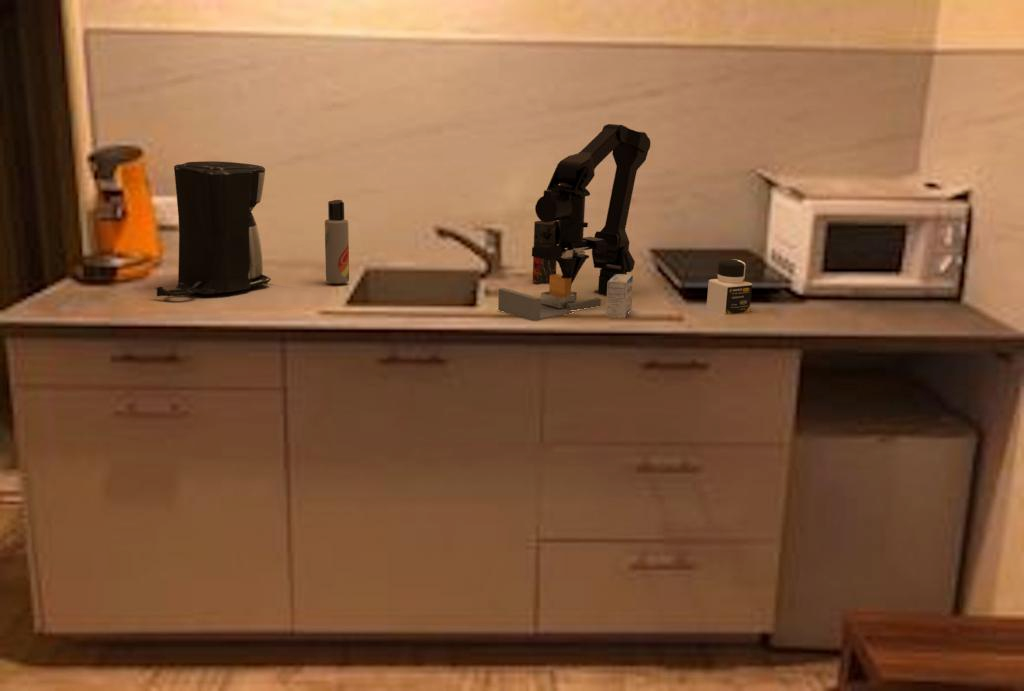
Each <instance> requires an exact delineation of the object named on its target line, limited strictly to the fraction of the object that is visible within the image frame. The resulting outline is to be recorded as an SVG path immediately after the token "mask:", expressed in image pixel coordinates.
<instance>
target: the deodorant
mask: <svg viewBox="0 0 1024 691" xmlns="http://www.w3.org/2000/svg"><path fill="white" fill-rule="evenodd" d="M554 222H555V221H552V222H543V221H541V220H535V221H534V228H533V246H534V245H535V244H540V243H541V241H536V239H535V227H538V226H545V227H546V228H547V229H549V228H553V227H554ZM554 245H558V244H554ZM557 264H558V262H557V261H556V260H545V259H541V258H537V257H533V256H532V282H533V283H536V284H541V285H542V284H544V285H545V284H546V285H547V284H548V285H549V283H550V275H553V274H557Z"/></svg>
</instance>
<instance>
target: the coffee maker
mask: <svg viewBox="0 0 1024 691" xmlns="http://www.w3.org/2000/svg"><path fill="white" fill-rule="evenodd" d="M173 170H174V182H175V183H174V184H175V192H176V194H175V195H176V202H177V203H176V205H177V215H178V272H177V273H178V279H177V280H178V281H177V286H176V288H174V289H169V290H167V289H165V288H164V286H157V287H154V289H156V296H157V297H181V296H186V295H192V294H193V295H194V294H199V295H214V294H222V293H223V294H225V293H232V292H238V291H243V290H250V289H251V288H253V287H256V286H260V285H263V284H264V285H266V284H268V283H269V282H270V281H272V279H271V277H269V276H267V275H265V274H263V254H262V253H263V252H262V246H261V239H260V233H259V228H258V225H257V222H256V220H255V217H254V215H253V213H252V211H253V209H254V208H256V206H257V205H258V204H259V203H261V200H262V196H263V190H264V183H265V178H266V177H265V175H266V168H265V167H264V166H263V165H262V166H261V165H259V164H258V165H257V164H252V163H244V162H243V163H242V162H232V161H218V160H217V161H213V160H212V161H209V160H208V161H188V162H184V163H181V164H175V165H174V166H173Z"/></svg>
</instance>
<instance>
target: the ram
mask: <svg viewBox="0 0 1024 691" xmlns="http://www.w3.org/2000/svg"><path fill="white" fill-rule="evenodd" d="M571 280H572V278H570V277H566V276H563V275H562V274H559V273H556V274H553V275H550V283H549V284H548V285H549V286H548V288H549V290H548V291H543V292H541V293H540V298H541V303H542V304H545V305H549V306H552V307H556V308H564V309H565V308H566V304H568V303H573V302H576V301H575V295H573V294H571V291H572V285H571Z"/></svg>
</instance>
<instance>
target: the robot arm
mask: <svg viewBox="0 0 1024 691" xmlns="http://www.w3.org/2000/svg"><path fill="white" fill-rule="evenodd" d="M650 148H651V139H650V137H648V134H647V133H646V132H645V131H637V130H633V129H631V128H629V127H627V126H624V125H623V124H614V123H608V124H605V125H604V126H603V127H602V129H601V131H600V132H599V133H598V134H597V135H596V136H595V137H594V138H593V139H592V140H591V141H590V142H589V143H588V144H587V145H585V146H584V147H583V149H581V151H579V152H578V153H574V154H571V155H568V156H566V157H564V158H563V159H561V160H560V161H559V162H558V163H557V165H556V167H555V169H554V171H553V174H552V176H551V179H550V181H549V184H548V186H547V188H546V189H545V190H543V195H542V196H540V197H539V198H538V199H537V201H536V204H535V208H534V209H535V210H534V211H535V214H536V217H537V218H538V219H539V221H543V222H552V221H555V222H554V227H553V228H549V229H547V228H546V227H545V226H538V227H535V239H536V241H541V243H540V244H535V245H534V244H533V246H532V248H531V257H532V258H533V257H537V258H541V259H545V260H556V261H557V264H558V266H559V268H560V270H561V275H562V276H566V277H570V278H572V280H571V286H572V285H573V283H574V281H575V279H576V277H577V275H578V274H579V271H580V270H581V269H582V267H583V265H584V264H585V262H586V261H587V259H590V255H588V254H586V251H589V250H591V256H592V263H593V267H594V268H595V269H599V275H598V285H597V286H598V287H597V288H598V289H596V290H594V291H593V293H596V294H598V295H604V296H606V297H607V284H608V281H609V280H610V279H611V278H612V277H613V276H614V274H625V275H628V274H627V273H632V271H633V270H634V267H635V265H636V264H635V263H636V261H635V259H634V257H633V255H632V253H631V252H630V250H629V249H630V240H629V237H628V233H627V232H626V227H627V222H628V218H629V212H630V207H631V202H632V196H633V192H634V187H635V181H636V176H637V172H638V170H639V168H640V167H641V166H642V165H643V164H644V163H645V162H646V159H647V156H648V153H649V150H650ZM611 153H612V157H613V160H614V162H615V166H616V168H615V173H614V179H613V183H612V188H611V193H610V197H609V198H610V199H609V203H608V204H609V205H608V209H607V214H606V217H605V218H606V219H605V223H604V226H603V228H602V229H601V230H599V231H596V232H595V233H594V236H585V237H584V230H585V228H588V227H589V222H586V221H585V211H586V210H585V209H586V197H590V195H591V192H590V191H589V190H588V189H587V188H586V187H588V186H589V184H590V183H591V181H593V179H594V177H595V169H596V168H597V167H598V166H599V164H600V163H602V162H603V161H604V159H606V158H607V157H608V155H610V154H611ZM554 244H557V245H554Z"/></svg>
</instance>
